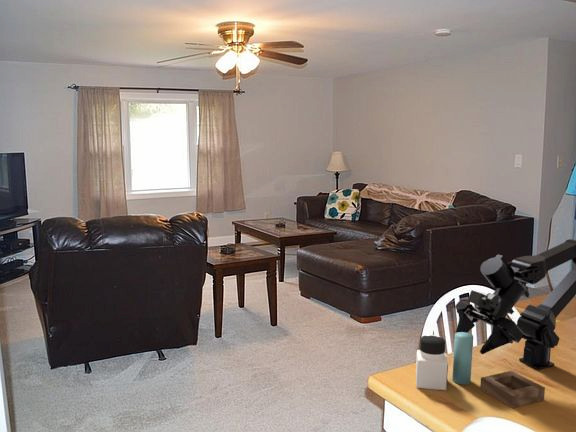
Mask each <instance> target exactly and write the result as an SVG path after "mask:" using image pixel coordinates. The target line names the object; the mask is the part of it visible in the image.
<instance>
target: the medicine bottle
mask: <svg viewBox="0 0 576 432" xmlns="http://www.w3.org/2000/svg"><path fill="white" fill-rule="evenodd" d="M415 358H416V359H415V361H416V363H415V382H416V383H415V385H416V388H418V389H425V390H427V389H428V390H436V391H437V390H438V391H447V389H448V373H449V371H448V369H449V363H448V357H447V353H446V340H445V339H444V338H443V337H442V336H439V335H437V334H425V335H421V337H420V338H419V349H417V350H416V357H415Z"/></svg>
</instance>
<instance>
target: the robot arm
mask: <svg viewBox="0 0 576 432" xmlns="http://www.w3.org/2000/svg"><path fill="white" fill-rule="evenodd" d="M570 261H571V265H570V266H571V269H570V270H569V272H568V273H567V274H566V275H565V276H564V277H562V279H561V281H560V282H559V283H558V284H557V285H556V286H555V287H554V289H553V290H552V291H550V293H549V294H548V296H547V297H545V299H544V300H543V301H542V302H541V303H540V304H539V305H534V304H528V305H527V306H526V307H525V309H524V310H522V312H520V313H519V317H518V319H517V321H516V322H515V321H514V320H511V319H509V318H507V317H506V316H508V314H510V315H513V314H514V313H515V310H514V309H513V308H514V307H515V305H516V304H517V303H518V301H519V300H520V298H521V297H524V298H527V299H528V298H529V297H530V292H529V287H528V286H526V285H523V283H522V282H524V283H527V284H529V285H535V284H536V285H537V284H538V283H539V282H540V281H542V280H543V279H544V278H546V277H547V273H548V272H549V271H550V270H553V269H554V268H557V267H558V266H560V265H563V264H565V263H567V262H570ZM479 270H480V272H481V274H482V275H483V276H484V278H485V279H486V280H487V281H488V283H489V284H490V285H491V287H493V288H495V290H494V292H493V293H490V292H488V293H486V294H484V293H481V292H479V291H477V290H476V291H475V290H472V289H471V290H470V293H469V295H468V297H467V301H464V300H459V301H458V302H457V303H456V304H455V306H454V308H455V310H456V313H457V314H458V323H457V325H456V330H455V333H457V332H466V333H469V331H471V330H473V328H474V327H476V325H475V323H478V322H479V321H480V322H482V323H485V324H487V325H490V326H492V330H491V334H490V335H489V336H488V338H487V339H486V341H485V342H484V343H483V345H482V346H481V347H480V350H479V353H480V354H481V355H485V354H487V353H488V352H489V353H490V352H491V351H493V350H495V349H497V348H501V347H503V346H506V345H508V344H512V345H513V343H514V342H515V343H517V344H519V343H520V341H521V340H522V339H524V340H525V341H524V347H523V355H522V357H521V358H520V357H519V359H518V361H519V362H521V363H523V364H526V365H528V366H530V367H532V368H534V369H536V370H540V369H545V368H550V367H554V366H555V363H554V362H552V361H551V351H552V349H554V348H555V347H557V346H558V345H559V341H560V337H559V336H558V334H557V333H556V332H555V329H556V323H557V322H556V321H557V320H556V319H557V317H558V316H559V315H560V314H561V313H562V311H563V310H564V309H565V308H566V307H567V305H569V303H571V301H572V300H573V299H574V298H575V297H576V239H573V238H570V239H569V238H568V239H565V241H564V242H562V243H560V244H559V245H556V246H554V247H552V248H549V249H547V250H544V251H543V252H541V253H538V254H536V255H524V256H519V257H515V258H514V259H512V261H510V262H508V261H507V259H506V257H505V256H504V255H501V254H496V255H495V257H491V258H488V259H486V260H485V261H483V262H482V263H481V265H480V269H479ZM471 303H472V304H471ZM473 304H474V305H475V306H474V305H473ZM453 340H455V335H454V337H453Z"/></svg>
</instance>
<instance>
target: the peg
mask: <svg viewBox="0 0 576 432" xmlns="http://www.w3.org/2000/svg"><path fill="white" fill-rule="evenodd" d="M454 336H455V340H454V339H453V340H454V341H453V342H454V344H453V362H452V363H453V364H452V378H451V380H452V382H453V383H455V384H458V385H462V386H463V385H466V386H467V385H469V384H471V379H472V363H473V349H474V348H473V346H474V335H473V334H471V333H469V332H467V333H466V332H457V333H456V332H455V333H454Z"/></svg>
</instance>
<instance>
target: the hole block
mask: <svg viewBox="0 0 576 432" xmlns="http://www.w3.org/2000/svg"><path fill="white" fill-rule="evenodd" d="M512 388H513V389H512ZM479 389H480V390H481V391H483V392H484V393H486V394H488V395H490V396H491V397H493V398H494V399H496V400H497V401H499V402H501V403H503V404H505V405H506V406H508V407H509V408H512V409H513V408H518V407H522V406H525V405H529V404H533V403H536V402H539V401H541V402H542V401H544V400H545V393H546V387H544V385H541V384H539V383H537V382H535V381H533V380H531V379H529V378H527V377H526V376H523V375H521V374H520V373H517V372H516V371H514V370H509V371H503V372H500V373H495V374H491V375H487V376H482V377H480V387H479Z"/></svg>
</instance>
